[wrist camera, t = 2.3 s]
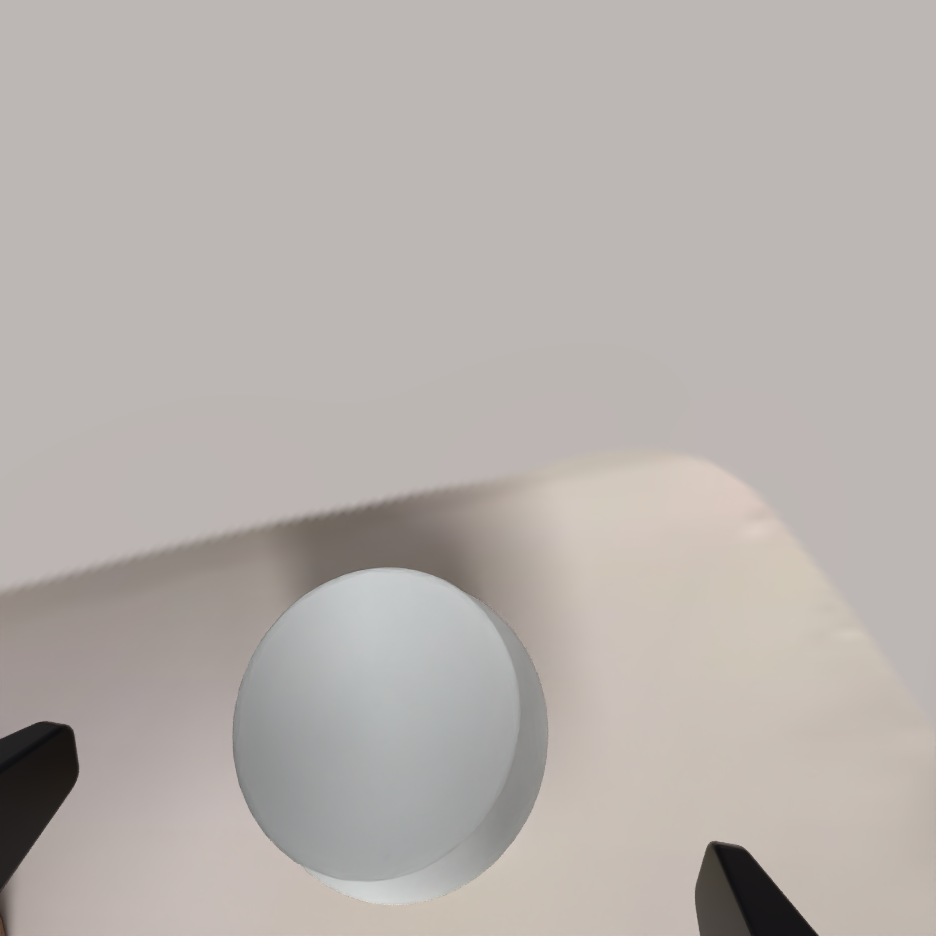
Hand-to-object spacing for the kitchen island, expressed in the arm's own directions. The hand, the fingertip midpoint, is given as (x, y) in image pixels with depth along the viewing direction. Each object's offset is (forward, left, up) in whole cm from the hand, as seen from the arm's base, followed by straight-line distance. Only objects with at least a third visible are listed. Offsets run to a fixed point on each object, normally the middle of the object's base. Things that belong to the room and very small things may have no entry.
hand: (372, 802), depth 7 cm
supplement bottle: (+1, 0, -9) cm, 9 cm away
